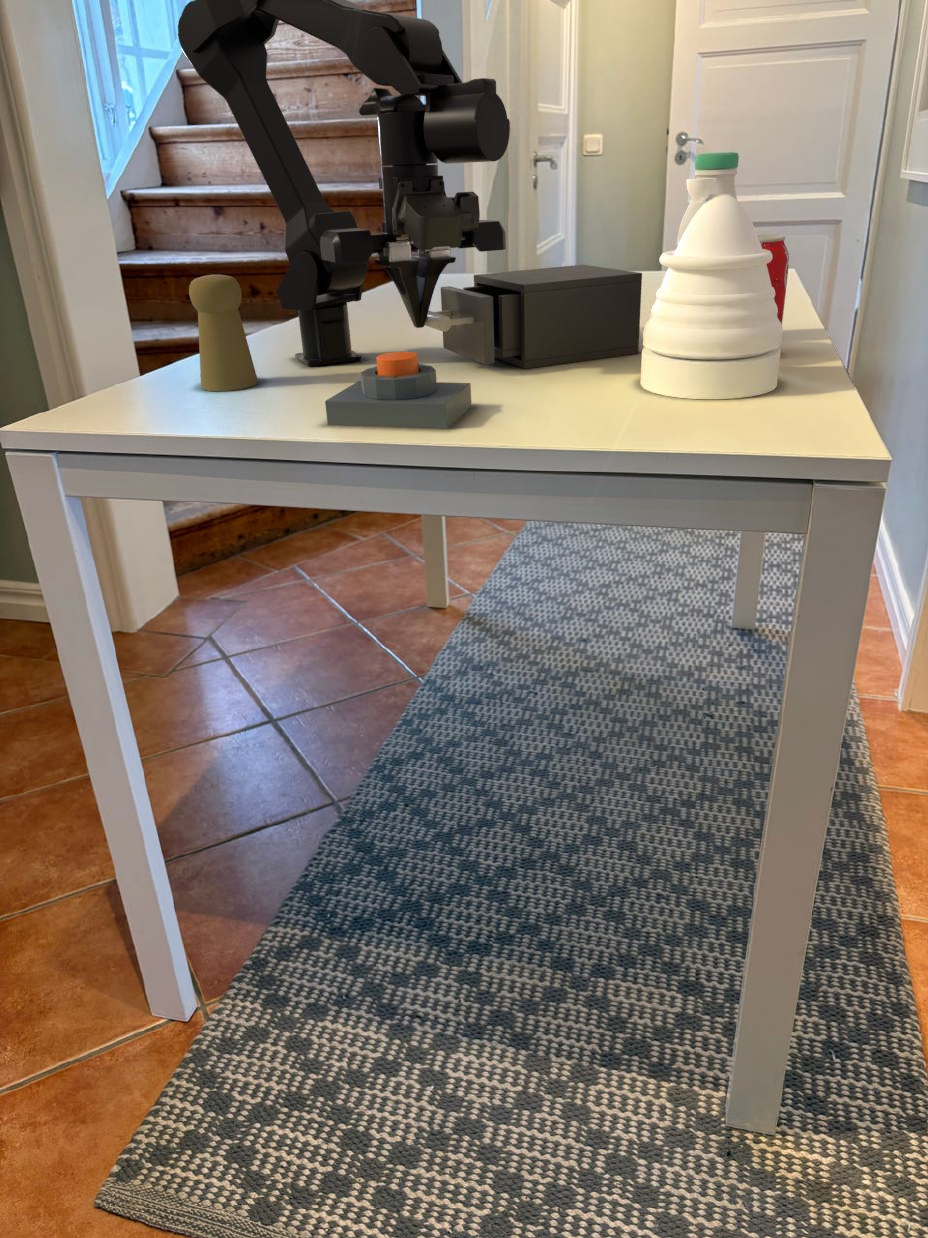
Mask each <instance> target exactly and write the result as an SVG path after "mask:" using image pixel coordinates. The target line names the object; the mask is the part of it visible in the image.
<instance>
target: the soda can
mask: <svg viewBox="0 0 928 1238" xmlns="http://www.w3.org/2000/svg"><path fill="white" fill-rule="evenodd" d="M757 235H758V238H759V241H760V244H761V247H762V249H765V250H769V251H770V252H771V253H772V257H773V258H772V260H771V262H769V263H767V264H766V265H767V269H768V273H769V277H770V281H771V286H772V287H773V288H774V290H775V297H774V301H775V303H776V305H777V308H778V313H777V318H778V319H779V321H780V323H781V325H782V326H783V320H784V310H785V303H786V295H787V285H788V277H789V276H788V275H789V266H790V265H789V262H790V254H789V251H788V248H787V246H786V244H785V240H786V236H785V235H781V234H780V235H779V234H757Z"/></svg>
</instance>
